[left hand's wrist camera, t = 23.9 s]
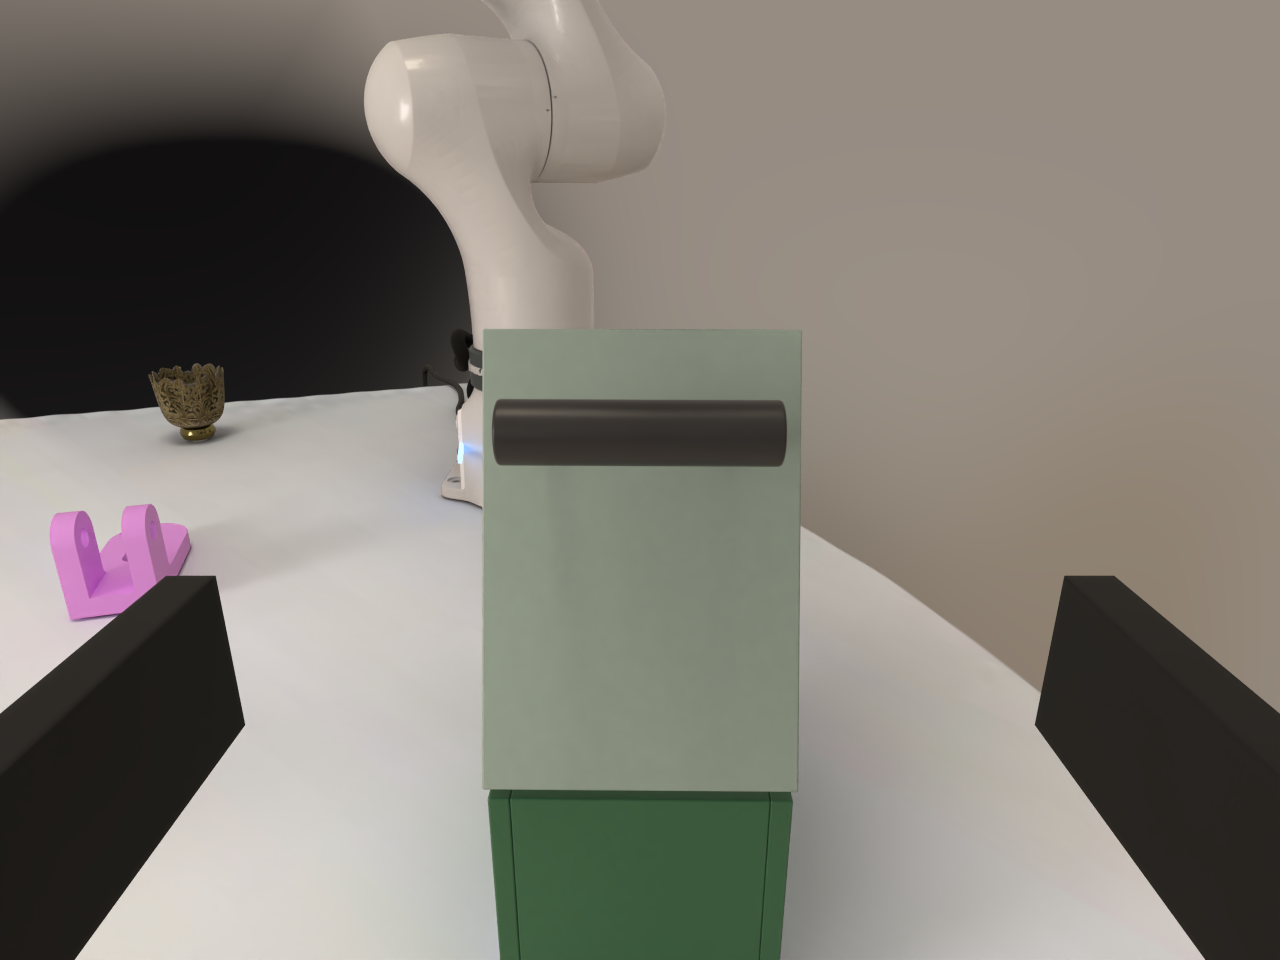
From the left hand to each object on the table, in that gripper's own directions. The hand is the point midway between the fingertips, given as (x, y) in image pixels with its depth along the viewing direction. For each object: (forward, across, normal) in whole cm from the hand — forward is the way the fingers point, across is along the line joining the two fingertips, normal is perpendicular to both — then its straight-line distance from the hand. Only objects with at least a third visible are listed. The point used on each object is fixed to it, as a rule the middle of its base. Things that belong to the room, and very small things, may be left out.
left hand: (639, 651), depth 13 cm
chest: (+17, 0, -21) cm, 27 cm away
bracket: (+45, -38, -21) cm, 63 cm away
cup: (+80, -51, -21) cm, 97 cm away
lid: (+13, 0, -5) cm, 14 cm away
